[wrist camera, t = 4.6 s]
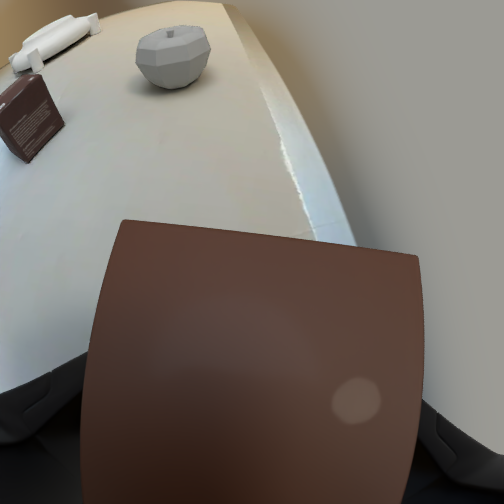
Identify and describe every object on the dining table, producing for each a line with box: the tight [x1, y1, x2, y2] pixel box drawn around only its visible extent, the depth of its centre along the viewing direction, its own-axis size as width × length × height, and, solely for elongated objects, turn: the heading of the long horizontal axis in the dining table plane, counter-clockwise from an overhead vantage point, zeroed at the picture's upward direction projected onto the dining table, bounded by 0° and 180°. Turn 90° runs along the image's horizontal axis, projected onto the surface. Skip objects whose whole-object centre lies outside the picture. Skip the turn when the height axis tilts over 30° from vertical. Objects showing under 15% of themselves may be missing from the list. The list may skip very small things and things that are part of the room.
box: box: [0, 74, 64, 163], centre depth 17 cm, size 6×6×7 cm
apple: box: [135, 25, 211, 89], centre depth 21 cm, size 8×8×7 cm
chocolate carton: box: [80, 219, 424, 504], centre depth 8 cm, size 5×4×12 cm
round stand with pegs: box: [8, 13, 101, 73], centre depth 31 cm, size 24×24×7 cm
